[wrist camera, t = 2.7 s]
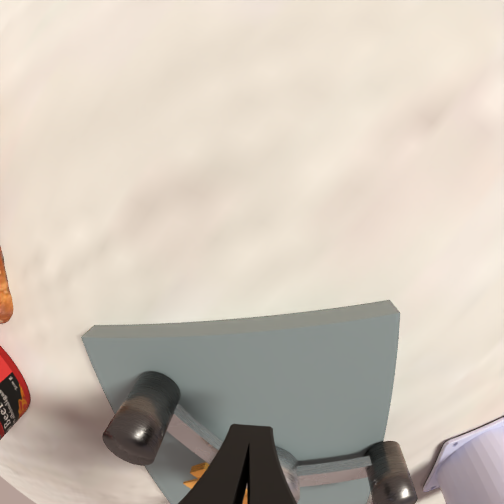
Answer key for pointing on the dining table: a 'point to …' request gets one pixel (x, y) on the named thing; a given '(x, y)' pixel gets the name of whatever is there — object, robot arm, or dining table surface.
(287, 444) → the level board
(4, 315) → the slice of bread
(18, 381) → the canned food
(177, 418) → the capstan
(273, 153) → the dining table surface
